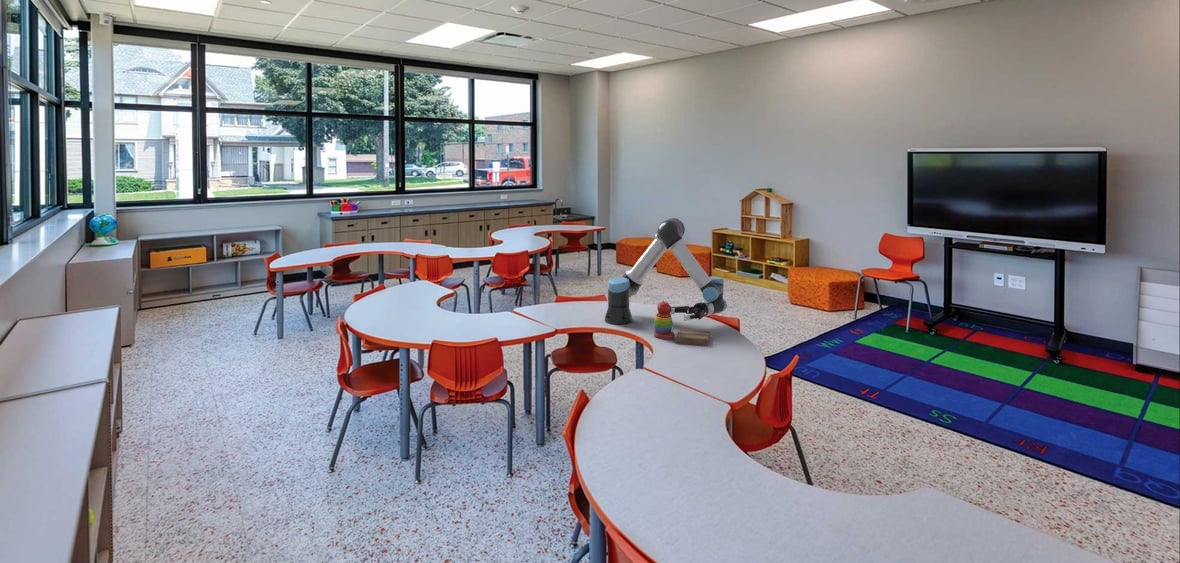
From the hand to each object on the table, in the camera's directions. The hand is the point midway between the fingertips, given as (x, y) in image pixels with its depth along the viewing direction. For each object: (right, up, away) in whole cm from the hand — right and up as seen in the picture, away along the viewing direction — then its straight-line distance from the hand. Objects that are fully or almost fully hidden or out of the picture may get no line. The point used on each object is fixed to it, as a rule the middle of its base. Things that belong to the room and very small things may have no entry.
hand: (674, 315), depth 309 cm
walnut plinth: (+8, -12, -8) cm, 16 cm away
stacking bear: (-6, -11, -2) cm, 12 cm away
